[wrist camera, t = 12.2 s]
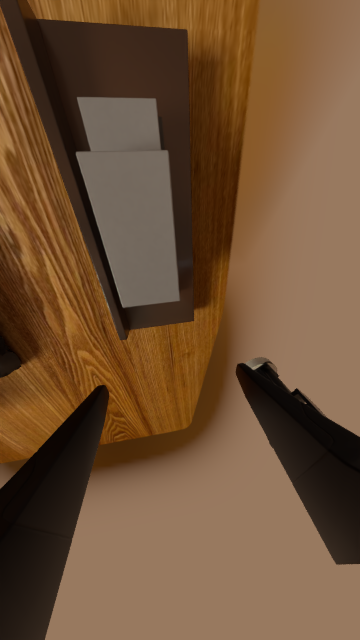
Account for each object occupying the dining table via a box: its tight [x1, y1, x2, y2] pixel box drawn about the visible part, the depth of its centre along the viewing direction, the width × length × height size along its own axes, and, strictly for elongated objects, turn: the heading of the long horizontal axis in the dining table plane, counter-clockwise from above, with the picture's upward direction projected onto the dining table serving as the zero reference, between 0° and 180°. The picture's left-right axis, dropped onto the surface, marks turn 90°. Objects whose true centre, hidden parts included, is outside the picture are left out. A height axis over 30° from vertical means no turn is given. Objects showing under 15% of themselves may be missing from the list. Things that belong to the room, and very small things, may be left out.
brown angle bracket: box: [0, 0, 194, 340], centre depth 13 cm, size 20×9×4 cm, turn 4°
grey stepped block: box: [76, 97, 180, 308], centre depth 10 cm, size 12×5×5 cm, turn 4°
